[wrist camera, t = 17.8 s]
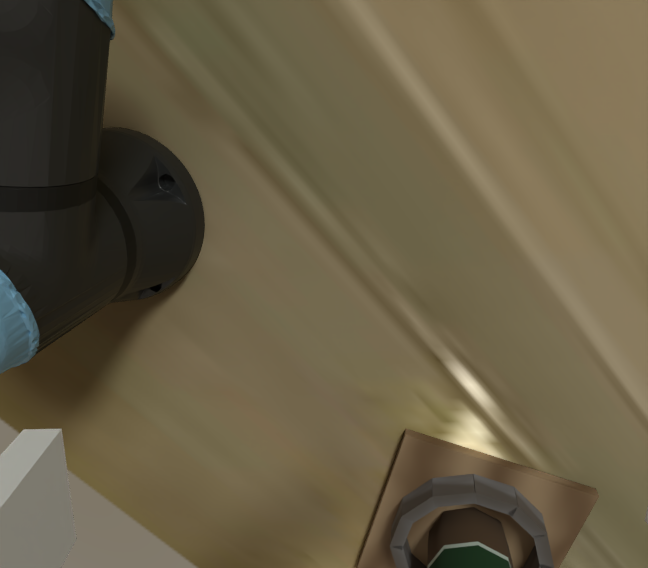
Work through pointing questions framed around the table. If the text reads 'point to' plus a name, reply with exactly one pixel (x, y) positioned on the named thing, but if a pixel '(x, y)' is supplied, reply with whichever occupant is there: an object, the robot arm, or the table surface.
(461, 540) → the beer bottle
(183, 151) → the table surface
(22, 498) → the robot arm
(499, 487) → the collar stand
